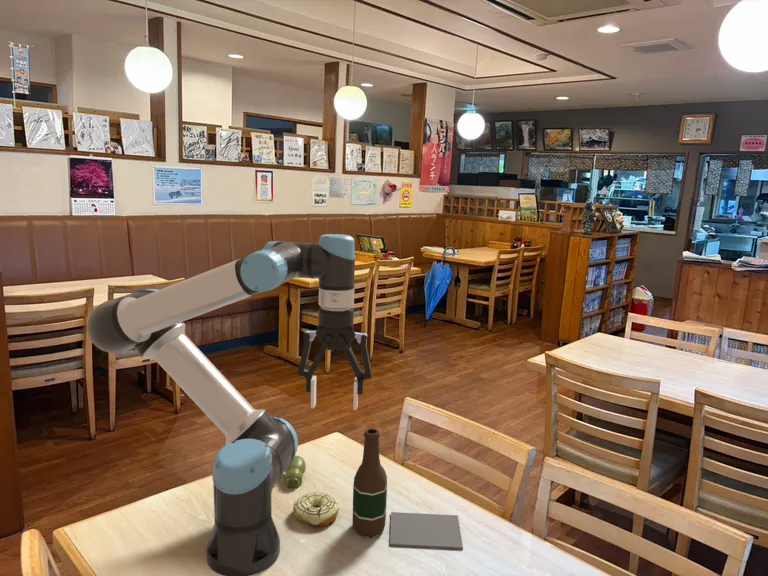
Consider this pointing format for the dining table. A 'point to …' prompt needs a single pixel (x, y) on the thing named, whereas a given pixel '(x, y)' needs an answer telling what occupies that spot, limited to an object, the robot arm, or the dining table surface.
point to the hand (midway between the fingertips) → (334, 406)
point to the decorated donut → (316, 509)
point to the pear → (295, 472)
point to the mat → (425, 530)
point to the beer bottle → (370, 490)
